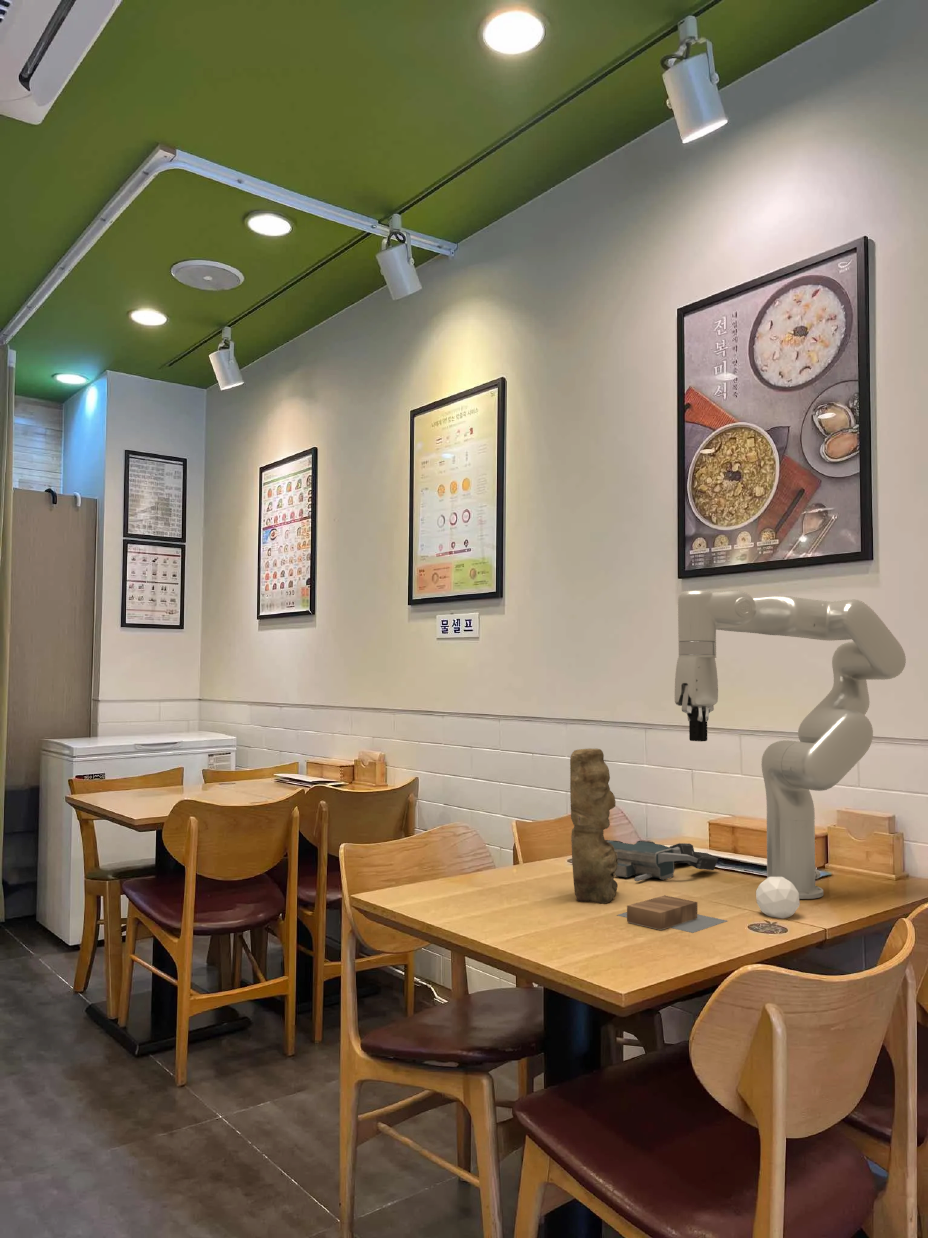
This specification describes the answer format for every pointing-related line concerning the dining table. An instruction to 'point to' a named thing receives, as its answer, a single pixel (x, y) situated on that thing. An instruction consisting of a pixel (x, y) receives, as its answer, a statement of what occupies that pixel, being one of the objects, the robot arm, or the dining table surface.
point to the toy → (657, 859)
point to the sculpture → (591, 827)
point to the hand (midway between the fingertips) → (698, 740)
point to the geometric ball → (777, 897)
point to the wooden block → (662, 912)
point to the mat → (694, 923)
